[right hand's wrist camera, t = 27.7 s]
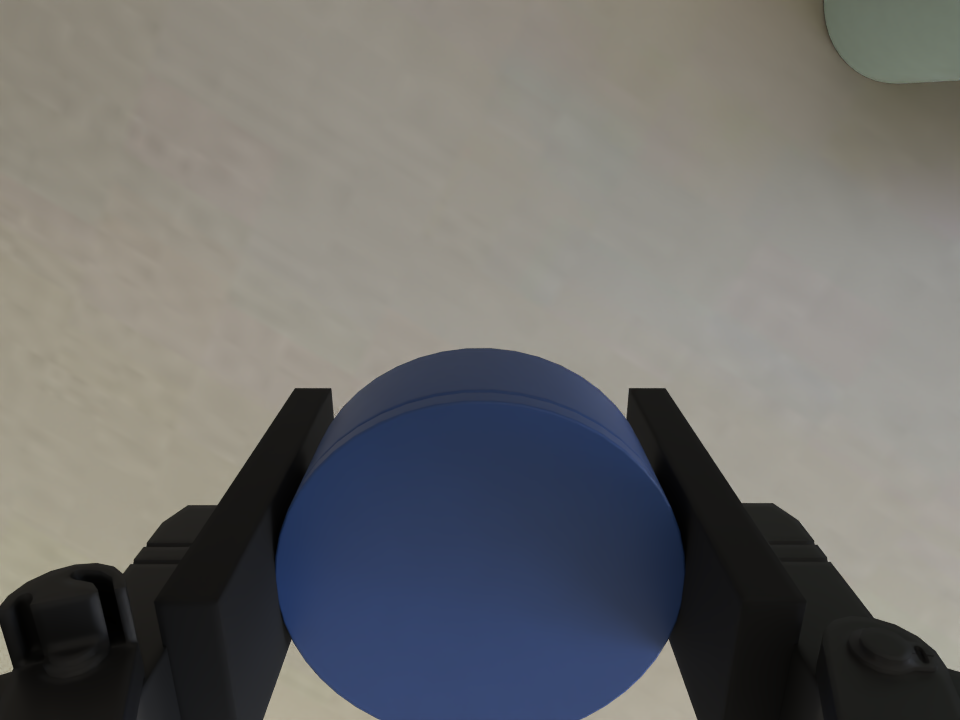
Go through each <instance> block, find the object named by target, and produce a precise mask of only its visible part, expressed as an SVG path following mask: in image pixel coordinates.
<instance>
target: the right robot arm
mask: <svg viewBox="0 0 960 720" xmlns="http://www.w3.org/2000/svg"><path fill="white" fill-rule="evenodd" d="M333 420H334V415H333V403H332V391H331V388H295V389H294V391H293V392H292V394H291V395H290V397H289V398H288V400H287V401H286V403H285V404H284V406H283V407H282V409H281V410H280V412H279V413H278V415H277V416H276V418H275V419H274V421H273V422H272V424H271V425H270V427H269V428H268V430H267V431H266V433H265V434H264V436H263V437H262V439H261V440H260V442H259V443H258V445H257V446H256V448H255V449H254V451H253V452H252V454H251V456H250V457H249V459H248V460H247V462H246V463H245V465H244V466H243V468H242V469H241V471H240V472H239V474H238V475H237V477H236V478H235V480H234V481H233V483H232V484H231V486H230V487H229V489H228V490H227V492H226V493H225V495H224V496H223V498H222V499H221V501H220V502H219V504H218V505H188V506H186V507H185V508H183V509H182V510H180V511H179V512H177V513H176V514H174V515H173V516H172V517H170V518H169V519H167V520H166V521H164V522H163V523H162V524H161V525H160V526H159V528H158V529H157V530H156V532H155V533H154V534H153V536H152V537H151V538H150V539H149V541H148V542H147V546H146V547H143V549H142V550H141V551H140V552H139V554H138V555H137V556H136V558H135V559H134V563H133V564H130V565H129V567H128V568H127V569H126V571H125V572H124V573H123V574H122V573H121V572H120V571H119V570H118V569H116V568H115V567H114V566H109V565H104V564H99V563H91V564H76V565H72V566H68V567H64V568H60V569H57V570H53V571H50V572H48V573H46V574H43V575H41V576H39V577H37V578H35V579H33V580H30V581H28V582H27V583H25V584H24V585H22V586H21V587H20V588H18V589H17V590H16V591H14V592H13V593H11V594H10V595H9V596H8V597H7V598H6V599H5V600H4V602H3V603H2V604H1V605H0V625H1V629H2V632H3V635H4V639H5V642H6V645H7V649H8V652H9V655H10V658H11V662H12V665H13V671H12V672H9V673H6V674H2V675H0V720H263V718H264V715H265V712H266V710H267V707H268V704H269V701H270V698H271V696H272V693H273V690H274V687H275V684H276V681H277V679H278V676H279V673H280V670H281V667H282V665H283V662H284V659H285V656H286V653H287V651H288V648H289V645H290V642H291V639H292V638H291V636H290V634H289V632H288V630H287V628H286V625H285V623H284V620H283V617H282V614H281V610H280V606H279V599H278V591H277V583H276V574H275V554H276V548H277V543H278V538H279V533H280V530H281V527H282V524H283V522H284V519H285V516H286V513H287V511H288V508H289V506H290V504H291V502H292V500H293V498H294V496H295V494H296V492H297V490H298V488H299V485H300V483H301V481H302V479H303V477H304V475H305V473H306V471H307V469H308V467H309V465H310V463H311V460H312V458H313V456H314V454H315V452H316V450H317V448H318V446H319V444H320V442H321V440H322V438H323V436H324V434H325V433H326V431H327V429H328V427H329V425H330V424H331V422H332V421H333ZM627 421H628V422H629V424H630V425H631V427H632V429H633V431H634V433H635V434H636V436H637V438H638V440H639V442H640V444H641V446H642V448H643V450H644V452H645V454H646V456H647V458H648V460H649V462H650V464H651V466H652V469H653V471H654V473H655V475H656V477H657V479H658V481H659V483H660V485H661V487H662V489H663V491H664V493H665V496H666V498H667V500H668V502H669V504H670V506H671V508H672V510H673V513H674V516H675V518H676V521H677V524H678V526H679V529H680V533H681V537H682V542H683V547H684V552H685V577H684V585H683V593H682V601H681V607H680V611H679V614H678V618H677V621H676V623H675V625H674V628H673V630H672V632H671V634H670V637H669V641H670V644H671V647H672V649H673V652H674V655H675V658H676V661H677V663H678V666H679V669H680V672H681V675H682V678H683V680H684V683H685V686H686V689H687V692H688V694H689V697H690V700H691V703H692V706H693V708H694V711H695V714H696V717H697V720H960V672H958V671H954V670H951V669H948V668H947V667H946V666H945V664H944V663H943V661H942V660H941V658H940V657H939V655H938V654H937V653H936V651H935V650H934V649H932V648H931V647H930V646H929V645H927V644H926V643H925V642H924V641H923V640H921V639H920V638H919V637H918V636H916V635H914V634H912V633H910V632H908V631H906V630H905V629H903V628H901V627H899V626H897V625H895V624H892V623H888V622H885V621H882V620H878V619H875V618H874V617H873V616H872V615H871V614H870V612H869V611H868V610H867V608H866V607H865V606H864V605H863V603H862V602H861V601H860V599H859V598H858V597H857V595H856V594H855V593H854V592H853V590H852V589H851V588H850V586H849V585H848V584H847V583H846V581H845V580H844V579H843V577H842V576H841V575H840V574H839V572H838V571H837V570H836V568H835V567H834V566H833V564H832V563H831V562H828V561H827V557H826V555H825V554H824V553H823V552H822V550H821V549H820V548H819V546H818V545H815V544H814V540H813V539H812V537H811V536H810V535H809V533H808V532H807V531H806V530H805V528H804V527H803V526H802V524H801V523H800V522H799V521H798V520H797V519H795V518H794V517H792V516H791V515H790V514H788V513H787V512H785V511H784V510H782V509H781V508H779V507H778V506H776V505H775V504H773V503H741V502H740V500H739V499H738V497H737V496H736V494H735V493H734V491H733V490H732V488H731V487H730V485H729V483H728V482H727V480H726V479H725V477H724V476H723V474H722V473H721V471H720V470H719V468H718V467H717V465H716V464H715V462H714V461H713V459H712V458H711V456H710V455H709V453H708V452H707V450H706V449H705V447H704V446H703V444H702V443H701V441H700V440H699V438H698V437H697V435H696V434H695V432H694V431H693V429H692V428H691V426H690V425H689V423H688V422H687V420H686V419H685V417H684V416H683V414H682V413H681V411H680V410H679V408H678V407H677V405H676V404H675V402H674V401H673V399H672V398H671V396H670V395H669V393H668V392H667V390H666V389H665V388H629V396H628V408H627Z"/></svg>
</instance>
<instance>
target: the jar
mask: <svg viewBox="0 0 960 720" xmlns="http://www.w3.org/2000/svg"><path fill="white" fill-rule="evenodd" d="M824 14H825V20H826V26H827V29H828V32H829V36H830V38H831V40H832V43H833V45H834V47H835V48H836V50H837V51H838V53H839V55H840V56H841V57H842V58H843V60H844V61H845V62H846V63H847V64H848V65H849V66H850V67H852V68H853V69H854V70H855V71H857V72H858V73H860V74H862V75H863V76H865V77H867V78H870V79H873V80H875V81H879V82H884V83H895V84H902V83H921V82H939V81H958V80H960V0H824Z"/></svg>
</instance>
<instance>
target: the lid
mask: <svg viewBox="0 0 960 720" xmlns="http://www.w3.org/2000/svg"><path fill="white" fill-rule="evenodd" d="M275 574H276V583H277V591H278V599H279V606H280V610H281V614H282V617H283V620H284V623H285V625H286V628H287V630H288V632H289V634H290V636H291V638H292V640H293V643H294V644H295V646H296V647H297V649H298V650H299V652H300V653H301V655H302V656H303V658H304V659H305V661H306V662H307V663H308V665H309V666H310V667H311V668H312V669H313V670H314V672H315V673H316V674H317V675H318V676H319V677H320V678H321V679H322V680H323V681H324V682H325V683H326V684H327V685H328V686H329V687H330V688H332V689H333V690H334V691H335V692H336V693H337V694H338V695H340V696H341V697H343V698H344V699H346V700H347V701H348V702H350V703H351V704H353V705H354V706H355V707H357V708H359V709H361V710H362V711H364V712H366V713H368V714H370V715H372V716H373V717H375V718H377V719H380V720H580V719H583V718H585V717H587V716H589V715H590V714H592V713H594V712H596V711H597V710H599V709H601V708H603V707H604V706H606V705H608V704H609V703H610V702H612V701H613V700H614V699H616V698H617V697H619V696H620V695H621V694H623V693H624V692H625V691H626V690H627V689H629V688H630V687H631V686H632V685H633V684H634V683H635V682H636V681H637V680H638V679H639V678H640V677H641V676H642V675H643V674H644V673H645V672H646V670H647V669H648V668H649V667H650V666H651V664H652V663H653V662H654V661H655V660H656V658H657V657H658V655H659V654H660V652H661V650H662V649H663V647H664V646H665V644H666V642H667V641H668V639H669V637H670V634H671V632H672V630H673V628H674V625H675V623H676V621H677V618H678V614H679V611H680V607H681V601H682V593H683V585H684V577H685V552H684V547H683V542H682V537H681V533H680V529H679V526H678V524H677V521H676V518H675V516H674V513H673V510H672V508H671V506H670V504H669V502H668V500H667V498H666V496H665V493H664V491H663V489H662V487H661V485H660V483H659V481H658V479H657V477H656V475H655V473H654V471H653V469H652V466H651V464H650V462H649V460H648V458H647V456H646V454H645V452H644V450H643V448H642V446H641V444H640V442H639V440H638V438H637V436H636V434H635V433H634V431H633V429H632V427H631V425H630V424H629V422H628V421H627V420H626V418H625V417H624V416H623V414H622V413H621V412H620V410H619V409H618V408H617V407H616V405H615V404H614V403H613V402H612V401H610V400H609V399H608V398H607V397H606V396H605V395H604V394H603V393H602V392H601V391H600V390H599V389H598V388H596V387H595V386H593V385H592V384H591V383H589V382H588V381H587V380H585V379H584V378H582V377H581V376H579V375H577V374H576V373H574V372H572V371H570V370H568V369H566V368H564V367H563V366H561V365H558V364H556V363H553V362H550V361H548V360H545V359H543V358H540V357H537V356H533V355H529V354H525V353H521V352H517V351H509V350H501V349H492V348H466V349H459V350H451V351H444V352H439V353H435V354H431V355H428V356H424V357H420V358H417V359H415V360H412V361H410V362H407V363H405V364H402V365H400V366H397V367H395V368H394V369H392V370H390V371H388V372H386V373H385V374H383V375H381V376H379V377H378V378H376V379H375V380H373V381H372V382H371V383H369V384H368V385H367V386H365V387H364V388H363V389H361V390H360V391H359V392H358V393H357V394H356V395H355V396H354V397H353V398H352V399H351V400H350V401H349V402H348V403H347V404H346V405H345V406H344V407H343V408H342V409H341V410H340V412H339V413H338V414H337V416H336V417H335V418H334V420H333V421H332V422H331V424H330V425H329V427H328V429H327V431H326V433H325V434H324V436H323V438H322V440H321V442H320V444H319V446H318V448H317V450H316V452H315V454H314V456H313V458H312V460H311V463H310V465H309V467H308V469H307V471H306V473H305V475H304V477H303V479H302V481H301V483H300V485H299V488H298V490H297V492H296V494H295V496H294V498H293V500H292V502H291V504H290V506H289V508H288V511H287V513H286V516H285V519H284V522H283V524H282V527H281V530H280V533H279V538H278V543H277V548H276V554H275Z"/></svg>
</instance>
